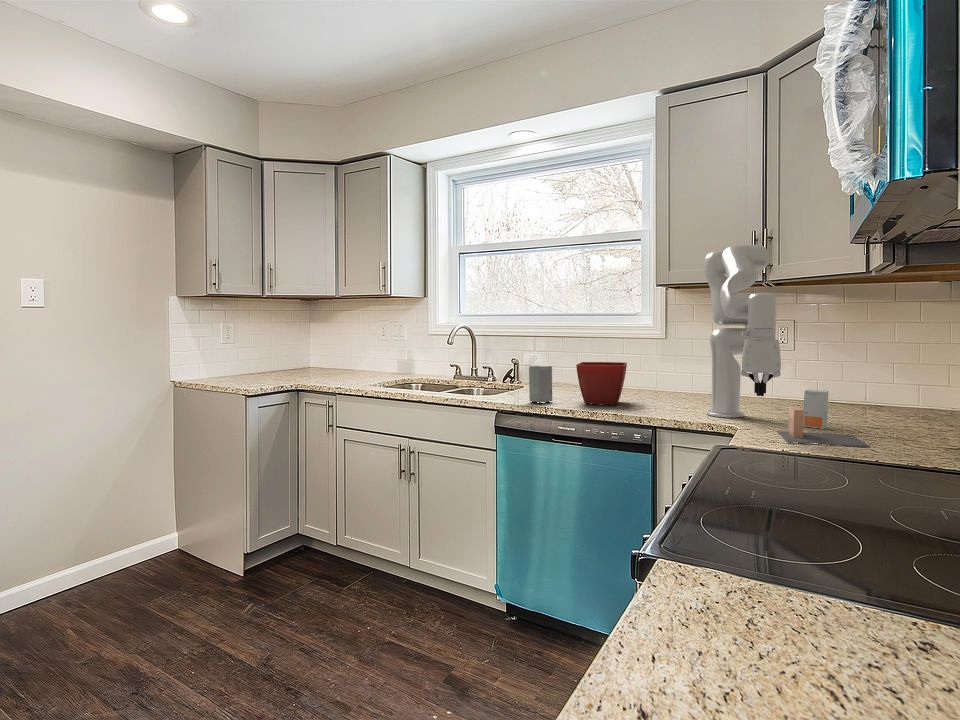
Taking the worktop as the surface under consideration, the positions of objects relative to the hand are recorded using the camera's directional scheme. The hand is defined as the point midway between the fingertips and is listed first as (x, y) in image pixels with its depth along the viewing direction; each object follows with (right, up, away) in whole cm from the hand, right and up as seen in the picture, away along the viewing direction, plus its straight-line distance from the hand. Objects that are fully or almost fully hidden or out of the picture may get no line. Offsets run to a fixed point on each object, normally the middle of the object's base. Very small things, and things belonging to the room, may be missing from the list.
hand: (760, 395), depth 169 cm
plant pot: (-33, -8, +67) cm, 75 cm away
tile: (+10, -12, -2) cm, 15 cm away
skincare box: (+23, -11, +12) cm, 28 cm away
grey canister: (-59, -8, +70) cm, 91 cm away
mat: (+14, -12, -6) cm, 20 cm away
